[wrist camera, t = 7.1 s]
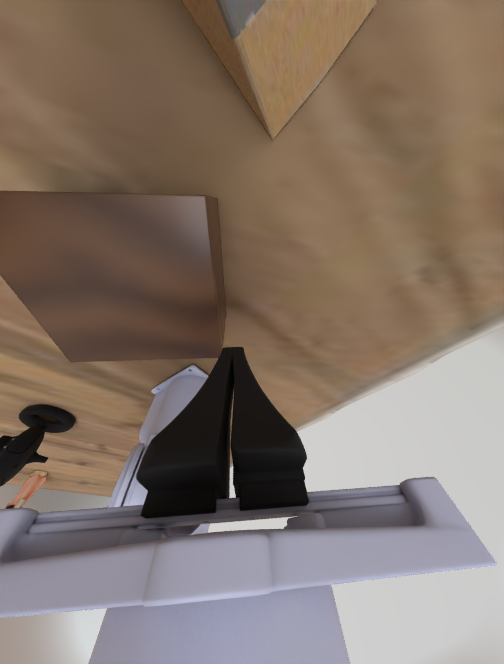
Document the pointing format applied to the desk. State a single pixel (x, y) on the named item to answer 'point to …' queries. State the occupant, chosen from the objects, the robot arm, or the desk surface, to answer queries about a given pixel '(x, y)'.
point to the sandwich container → (278, 47)
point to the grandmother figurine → (28, 489)
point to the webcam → (30, 439)
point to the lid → (114, 272)
